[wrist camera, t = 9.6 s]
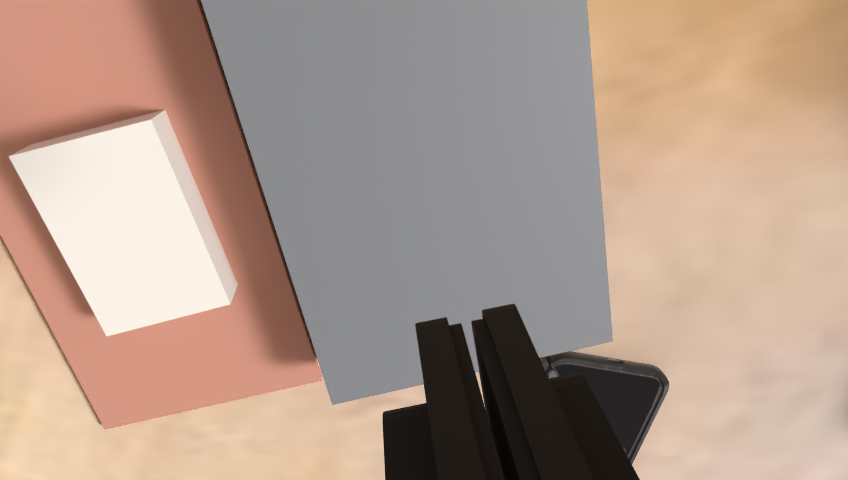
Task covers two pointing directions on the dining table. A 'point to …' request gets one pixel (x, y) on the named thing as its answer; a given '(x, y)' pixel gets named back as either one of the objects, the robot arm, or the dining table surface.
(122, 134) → the cream block
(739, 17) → the dining table surface
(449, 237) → the grey block
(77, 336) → the terracotta mat
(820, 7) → the dining table surface
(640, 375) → the phone
